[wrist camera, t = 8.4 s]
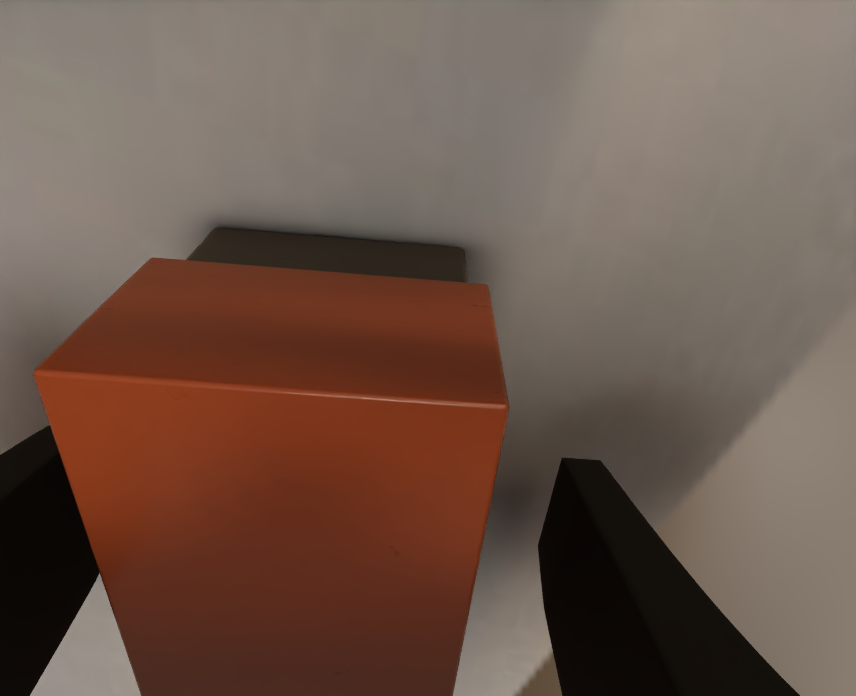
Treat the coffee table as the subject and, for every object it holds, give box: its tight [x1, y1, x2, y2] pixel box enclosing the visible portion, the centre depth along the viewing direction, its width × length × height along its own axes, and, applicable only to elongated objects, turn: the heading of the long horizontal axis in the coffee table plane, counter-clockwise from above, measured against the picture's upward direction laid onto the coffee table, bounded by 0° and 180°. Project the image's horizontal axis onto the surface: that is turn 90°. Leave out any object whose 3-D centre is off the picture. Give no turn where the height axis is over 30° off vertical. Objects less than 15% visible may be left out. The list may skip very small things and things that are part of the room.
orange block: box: [33, 228, 509, 696], centre depth 9 cm, size 8×4×4 cm, turn 175°
